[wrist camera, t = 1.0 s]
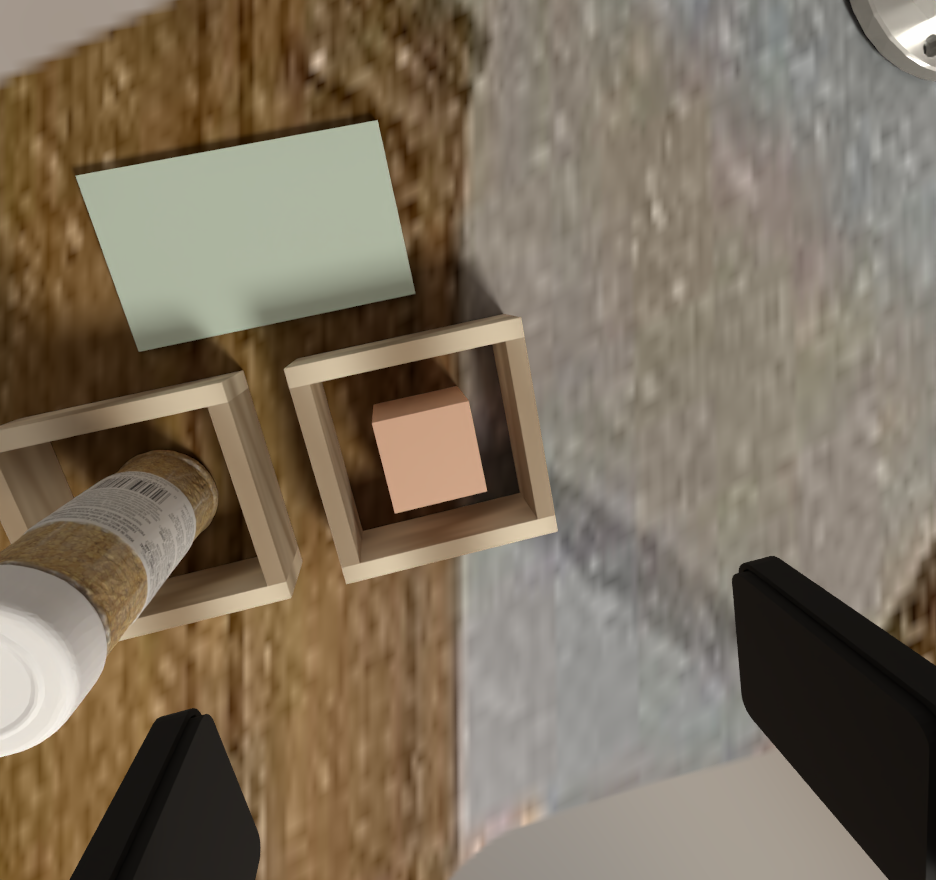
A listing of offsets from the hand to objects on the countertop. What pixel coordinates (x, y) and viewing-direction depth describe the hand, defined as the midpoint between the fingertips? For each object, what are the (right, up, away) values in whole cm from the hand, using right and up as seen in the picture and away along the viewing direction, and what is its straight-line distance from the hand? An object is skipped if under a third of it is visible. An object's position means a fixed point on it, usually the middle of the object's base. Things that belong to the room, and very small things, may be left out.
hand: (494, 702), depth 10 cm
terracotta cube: (-3, +5, +18) cm, 18 cm away
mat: (-9, +13, +14) cm, 22 cm away
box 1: (-14, +2, +16) cm, 22 cm away
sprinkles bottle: (-14, +2, +17) cm, 22 cm away
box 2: (-2, +5, +17) cm, 18 cm away
